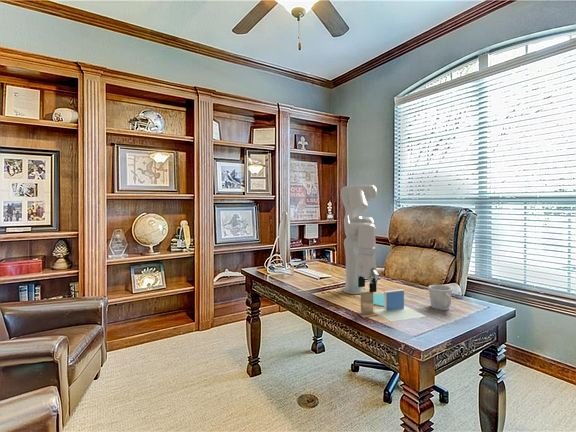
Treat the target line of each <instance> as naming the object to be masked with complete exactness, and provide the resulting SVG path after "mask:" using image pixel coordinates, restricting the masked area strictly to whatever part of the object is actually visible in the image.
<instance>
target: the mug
mask: <svg viewBox="0 0 576 432" xmlns="http://www.w3.org/2000/svg"><path fill="white" fill-rule="evenodd" d="M452 292H453V288H452V287H451V286H449V285H445V284H431V285H428V294H429V299H430V306H431V308H433V309H435V310H440V311H448V310H449V309H450V307H451V306H452V305H451V304H452V294H453V293H452Z"/></svg>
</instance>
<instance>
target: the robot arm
mask: <svg viewBox="0 0 576 432" xmlns="http://www.w3.org/2000/svg"><path fill="white" fill-rule="evenodd" d="M340 198H341V201H342V204H343V206H344V211H345V215H344V219H343V227H344V229H343V230H344V234H345V236H346V237H345V238H344V240H343V247H344V255H345V282H344V284H345V287H343V289H342V290H343V292H344V293H346V294H349V295H361V291H367V289H366V288H365V287H366V279H368V281H369V283H368V284H369V286H368V288H369V289H368V290H369V292H373V293H376V292H377V289H378V288H377V287H378V286H377V284H378V280H379V276H380V275H379V273H378V272H377V259H376V247H377V245H376V244H377V243H376V234H377V228H376V225H375V221H374V218H373V217H371V216H363V215H365V214H366V213H367V212H368V211H369V204H368V202H369V201H371V202H372V201H373V202H374V201H376V200H377V198H378V190H377V187H376V186H375V185H374V184H356V185H355V184H354V185H346V186H343V187H342V188H341V190H340Z"/></svg>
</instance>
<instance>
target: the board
mask: <svg viewBox="0 0 576 432" xmlns="http://www.w3.org/2000/svg"><path fill="white" fill-rule="evenodd" d="M373 312H374V313H376V314H378V316H380V317H383V318H384V319H386V320H388V321H389V322H398V321H399V322H400V321H404V320H411V319H417V318H418V319H419V318H425V317H427V316H426V315H424V314H422V313H420V312H419V311H417V310H415V309H413V308H410V307H408V306H406V305H404V309H400V310H392V311H384V308H377V309H373Z"/></svg>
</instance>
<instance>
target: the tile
mask: <svg viewBox="0 0 576 432" xmlns="http://www.w3.org/2000/svg"><path fill="white" fill-rule="evenodd" d="M383 294H384V307H383V309H384V311H392V310H400V309H404V306H405V289H403V288H402V289H393V290H384V291H383Z"/></svg>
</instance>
